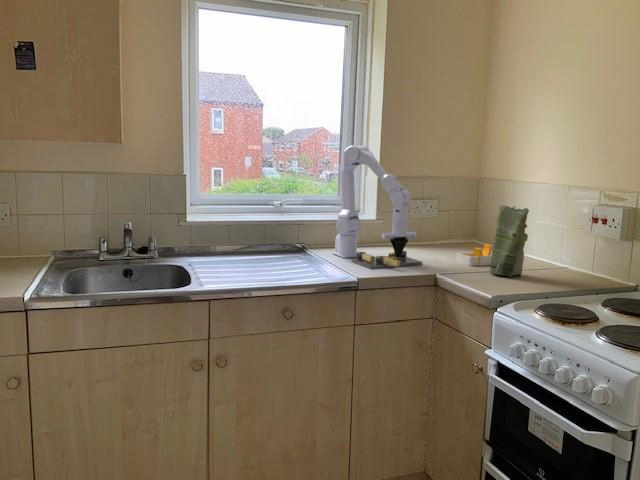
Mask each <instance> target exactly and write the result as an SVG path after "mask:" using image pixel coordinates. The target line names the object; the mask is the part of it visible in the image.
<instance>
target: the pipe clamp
mask: <svg viewBox="0 0 640 480" xmlns="http://www.w3.org/2000/svg"><path fill="white" fill-rule="evenodd" d="M491 251H493V245H492V244H487V243H485V244H483V248H480V247H474V248H473V252H474V254H473V257H475V256H478V257H479V263H478V266H479V267H481V265H479V264H480V256H489V255H491ZM478 266H477V267H478Z"/></svg>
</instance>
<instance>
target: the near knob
mask: <svg viewBox="0 0 640 480" xmlns="http://www.w3.org/2000/svg"><path fill="white" fill-rule="evenodd" d="M385 256H386V255H376V256H375V257H376V263H380V264H388V265H393V266H400V260H398V259H393V258H388V257H385Z"/></svg>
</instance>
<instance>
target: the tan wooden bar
mask: <svg viewBox="0 0 640 480" xmlns="http://www.w3.org/2000/svg"><path fill="white" fill-rule="evenodd" d="M374 257H375V256H374V255H372V254H369V253H367V252H366V251H357V253H356V257H355V258H357V259H362V260H365V261H368V262H374Z"/></svg>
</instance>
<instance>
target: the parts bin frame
mask: <svg viewBox="0 0 640 480" xmlns="http://www.w3.org/2000/svg"><path fill="white" fill-rule="evenodd" d="M492 251H493V250H492ZM492 251H491V255H489V256H480V264H479V265H480V266H491V258H492ZM473 254H474V251H467V252H456V258H455V259H456V260H455V262H456V263H458V264H462V265H465V266H468V267H478V263H479V257H478V256H475V257H473Z"/></svg>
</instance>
